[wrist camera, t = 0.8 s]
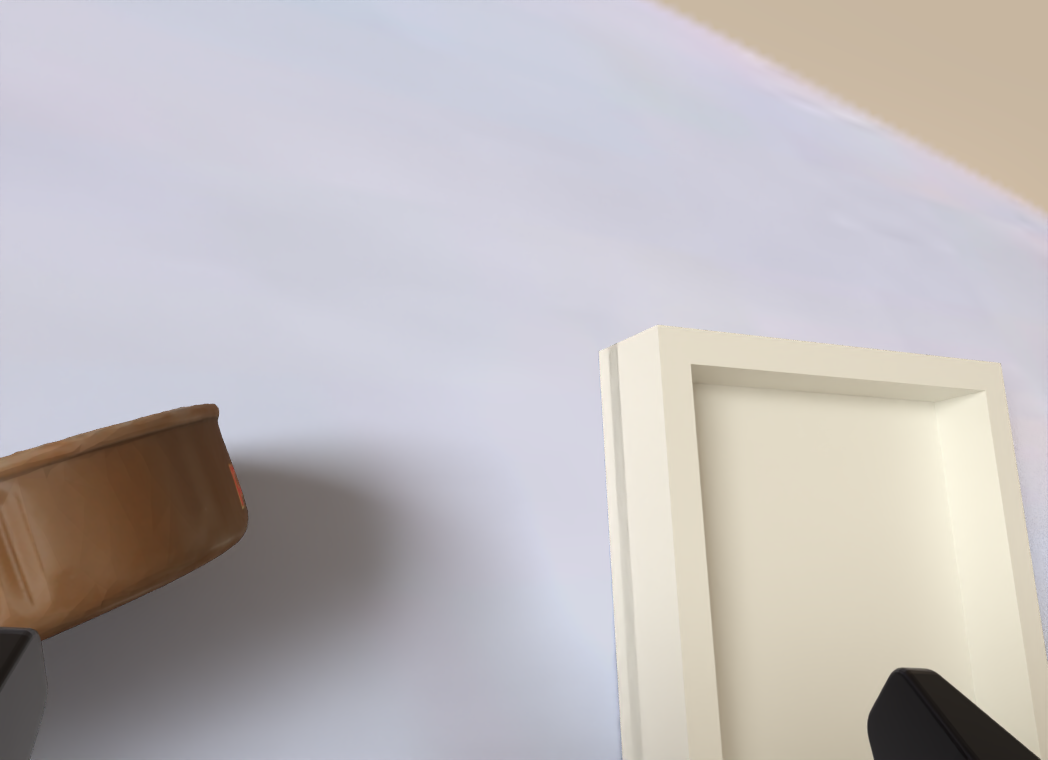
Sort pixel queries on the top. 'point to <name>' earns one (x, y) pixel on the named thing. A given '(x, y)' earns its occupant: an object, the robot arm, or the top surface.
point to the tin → (113, 516)
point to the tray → (809, 543)
